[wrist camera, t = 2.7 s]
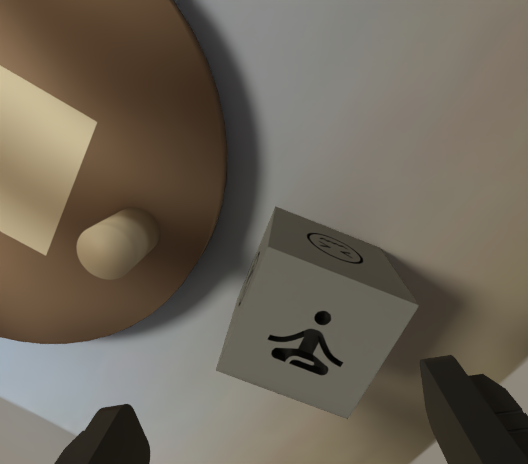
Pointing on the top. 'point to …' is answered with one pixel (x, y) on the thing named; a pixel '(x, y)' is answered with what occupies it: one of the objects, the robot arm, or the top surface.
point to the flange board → (102, 164)
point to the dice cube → (315, 315)
